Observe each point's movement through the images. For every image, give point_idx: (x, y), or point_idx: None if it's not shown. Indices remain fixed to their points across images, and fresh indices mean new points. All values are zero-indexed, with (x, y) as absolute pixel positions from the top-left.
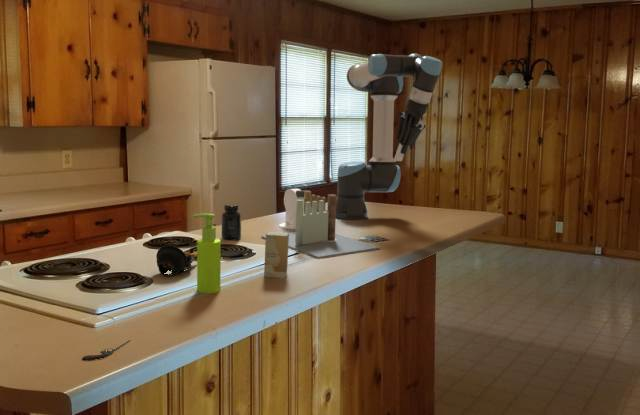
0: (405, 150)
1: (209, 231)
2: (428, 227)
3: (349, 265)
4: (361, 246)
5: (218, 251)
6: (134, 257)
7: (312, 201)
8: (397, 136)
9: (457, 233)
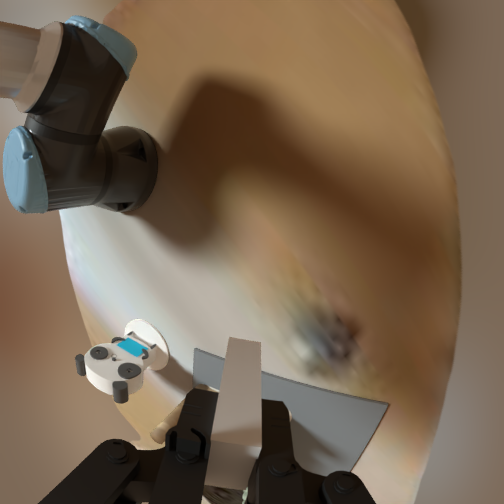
0: (287, 437)
1: None
2: (330, 93)
3: (393, 484)
4: (355, 420)
5: None
6: None
7: (243, 498)
8: (124, 501)
9: (431, 100)
